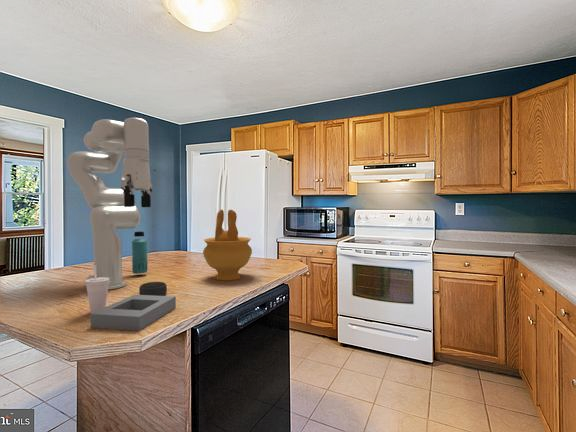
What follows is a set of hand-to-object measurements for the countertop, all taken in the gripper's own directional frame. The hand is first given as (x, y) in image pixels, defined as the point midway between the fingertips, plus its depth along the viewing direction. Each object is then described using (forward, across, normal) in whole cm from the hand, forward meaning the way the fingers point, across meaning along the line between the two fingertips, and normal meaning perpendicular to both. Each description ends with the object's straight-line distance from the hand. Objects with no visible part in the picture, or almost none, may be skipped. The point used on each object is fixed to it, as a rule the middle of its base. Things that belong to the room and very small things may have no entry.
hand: (138, 207), depth 107 cm
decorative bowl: (+31, -34, +21) cm, 51 cm away
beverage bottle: (+31, -34, -20) cm, 50 cm away
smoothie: (+31, +14, -5) cm, 35 cm away
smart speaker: (+32, -5, +2) cm, 32 cm away
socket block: (+32, +17, +9) cm, 37 cm away
